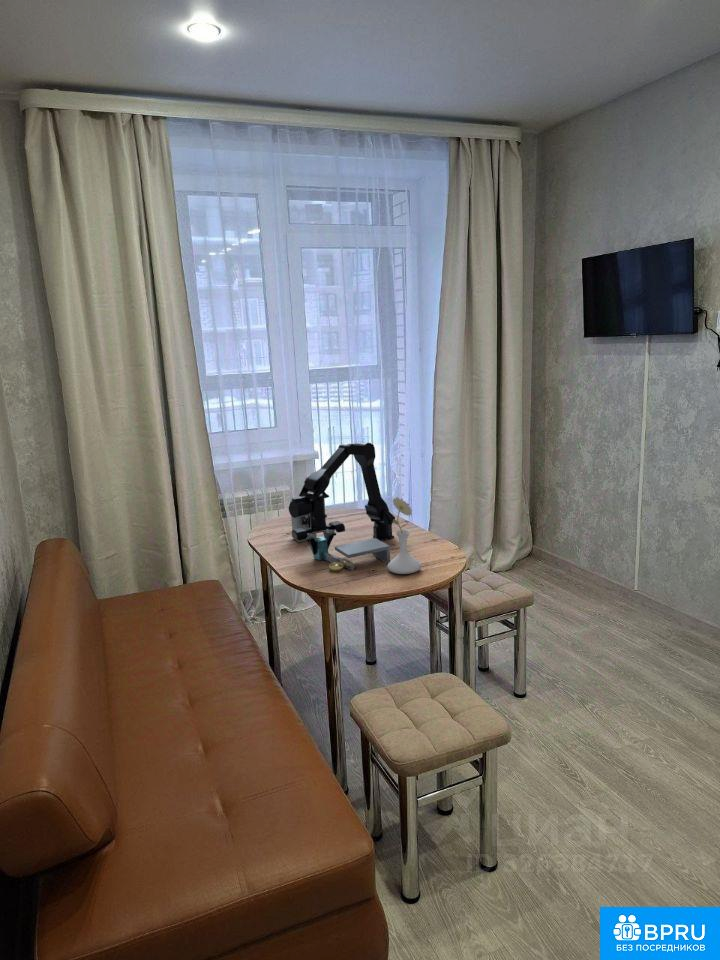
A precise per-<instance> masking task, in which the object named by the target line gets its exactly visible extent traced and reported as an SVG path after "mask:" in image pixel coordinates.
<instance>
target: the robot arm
mask: <svg viewBox="0 0 720 960" xmlns="http://www.w3.org/2000/svg"><path fill="white" fill-rule="evenodd" d="M350 455H351V456H353V458H354V459H355V460H356V461H355V462H357V463H358V465H359V466H360V470H361V473H362V478H363V482H364V485H365V490H366V494H367V498H368V502H367V504H365V505H364V509H365V511H366V512H365V515H367V517H368V518H369V519H370V521H371V522H373V527H372V531H373V532H372V533H373V534H372V537H373V538H376V539H378V540H380V541H384V540H390V539H395V535H393V526H392V525H393V524H394V523H393V520H394V519H395V520H396V517H395V516H394V514H393V513H391V512H390V509H389V506H388V504H387V502H386V501H385V500H384V498H383V497H382V494H381V491H380V485H379V481H378V478H377V472H376V469H375V465H374V462H375V460H376V448H375V446H374V444H373V443H371V442H367V441H366V442H365V441H356V442H355V443H344V442H343V443H341V444H339V445H338V448H337V449H336V450H335V451H334V452H333V454H332V455H331V456H330V457H329V458H328V459H327V461H326V462H325V463H324V464H323V465H322V466H321V468H320V469H318V470H316V471H315V472H312V473H311V474H310V475H309V476H308V477H306V478H305V480H304V482H303V483H304V484H303V486H302V488H301V491H300V492H299V495H298V496H297V497H292V498H291V501H292V502H291V503H290V502H289V506H288V513H289V515H290V516H292V517H293V518H297V517H299V522H300V525H305V527H308V528H310V529H309V530H305V529H303V528H298V529H293V531H292V530H291V537H292V539H293V538H294V540H295V539H296V540H295V541H297V540H304V539H305V540H306V541H305V542H307V544H308V546H309V548H310V550H311V552H312V555H313V554H314V555H315V538H313V537H312V534H321V533H322V534H323V538H325V539H327V545H328V550H329V548H330V545H331V543H332V541H333V539H334V537H335V536H337V533H339V534H340V533H343V532H345V531H346V527H345V524H344V523H343V522H341V521H339V520H335V521H330V522H329V523H328V525H327V518H328V517H327V514H326V505H325V499H327V498H329V497H330V495H329V494H328V493H326V492H325V491H326V490H327V488H328V487H329V485H330V482H331V478H332V477H333V476H334V475H335V473H336V472H337V471H338V470H339V469H340V467H341V466H342V465H343V464H344V463H345V461H346V460H347V459H348V458H349V457H350ZM304 515H308V518H306V517H305V516H304ZM300 516H302V517H300ZM335 531H336V532H335Z"/></svg>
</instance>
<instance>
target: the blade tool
mask: <svg viewBox="0 0 720 960" xmlns="http://www.w3.org/2000/svg"><path fill="white" fill-rule="evenodd" d="M312 555H313V559H315V560H318V561H323V560H325V561H327V562H329V563H333V562H342V563H343V564H344V569H347V570H354V563H353V562H352V561H350V560H348V559H344V558H342V557H339V556H337V555H333V554H330V553H329V549H328V545H327V539H325V538H324V536H317V538H315V555H314V554H313V553H312Z"/></svg>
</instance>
